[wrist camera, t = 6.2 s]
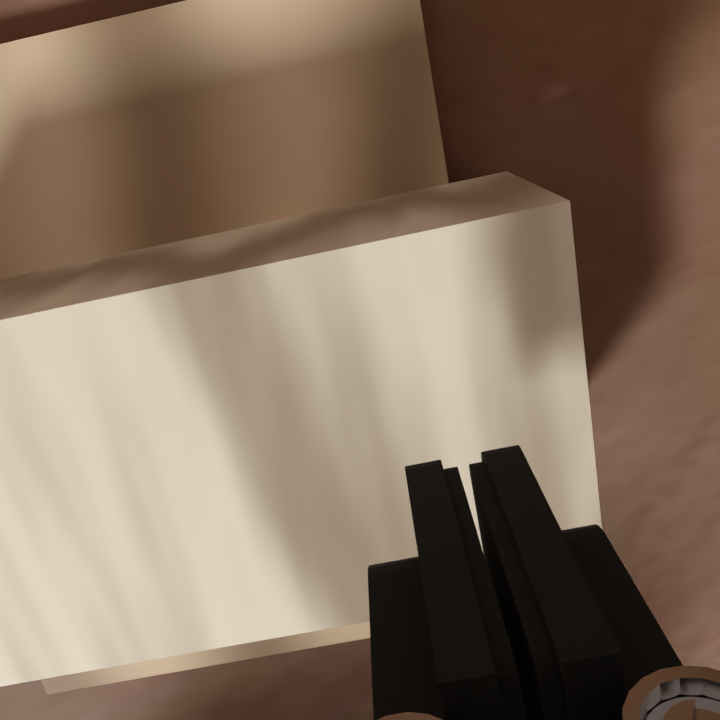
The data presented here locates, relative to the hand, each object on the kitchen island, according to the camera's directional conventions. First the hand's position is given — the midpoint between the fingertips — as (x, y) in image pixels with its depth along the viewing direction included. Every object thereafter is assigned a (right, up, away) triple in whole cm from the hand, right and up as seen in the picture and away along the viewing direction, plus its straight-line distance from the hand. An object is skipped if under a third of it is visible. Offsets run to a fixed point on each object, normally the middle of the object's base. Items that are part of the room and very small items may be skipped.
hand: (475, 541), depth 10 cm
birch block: (+3, +3, +5) cm, 7 cm away
